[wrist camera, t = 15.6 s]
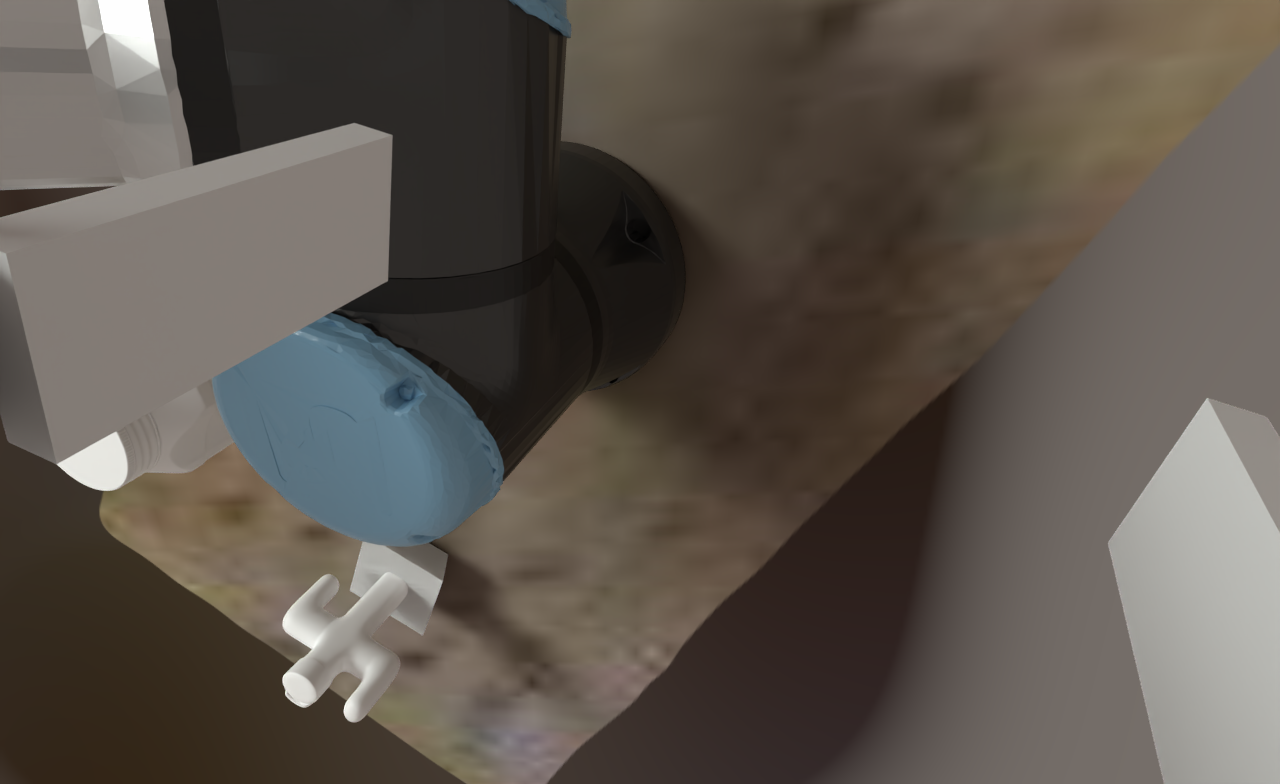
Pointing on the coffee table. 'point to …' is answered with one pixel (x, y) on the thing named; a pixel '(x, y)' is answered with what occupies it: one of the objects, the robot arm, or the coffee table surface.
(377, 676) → the figurine
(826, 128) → the coffee table surface
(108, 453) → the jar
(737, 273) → the coffee table surface
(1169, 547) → the robot arm
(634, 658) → the coffee table surface
